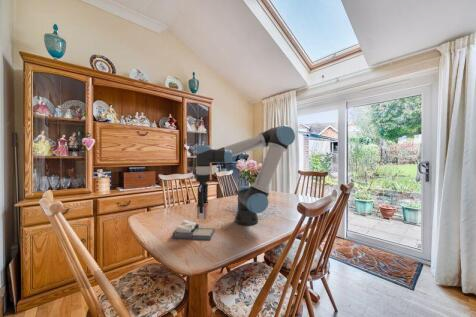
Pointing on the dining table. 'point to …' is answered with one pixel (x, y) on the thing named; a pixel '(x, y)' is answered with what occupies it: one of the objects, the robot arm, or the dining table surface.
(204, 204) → the lockout cap
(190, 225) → the rocker
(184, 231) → the rocker
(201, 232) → the breaker panel
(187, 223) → the rocker
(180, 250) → the dining table surface
